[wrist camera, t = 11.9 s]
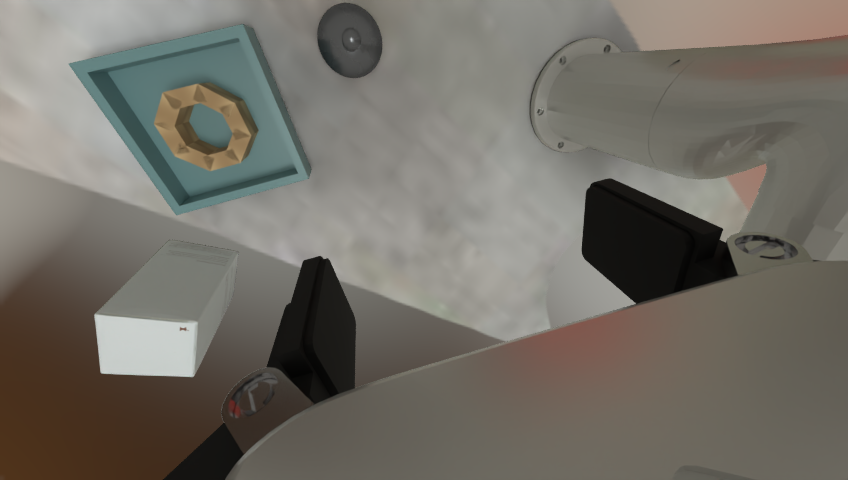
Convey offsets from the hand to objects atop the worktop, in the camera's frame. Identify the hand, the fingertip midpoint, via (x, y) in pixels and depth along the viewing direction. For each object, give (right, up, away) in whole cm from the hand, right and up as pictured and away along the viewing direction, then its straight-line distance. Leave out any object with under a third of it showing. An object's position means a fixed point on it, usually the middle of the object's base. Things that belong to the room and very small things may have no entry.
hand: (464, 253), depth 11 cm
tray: (-22, +12, +20) cm, 32 cm away
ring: (-22, +12, +19) cm, 32 cm away
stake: (-9, +20, +19) cm, 29 cm away
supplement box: (-29, -3, +27) cm, 40 cm away
